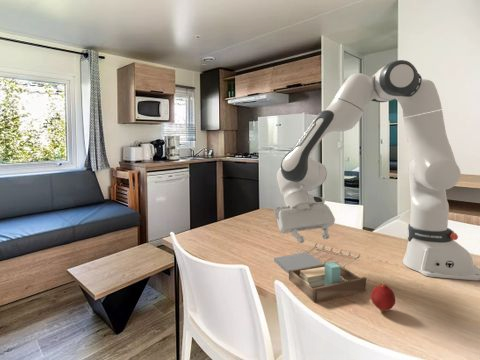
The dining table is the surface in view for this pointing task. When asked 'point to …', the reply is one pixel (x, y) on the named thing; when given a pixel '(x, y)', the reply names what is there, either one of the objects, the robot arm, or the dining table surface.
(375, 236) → the dining table surface
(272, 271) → the dining table surface
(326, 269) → the teal rectangular block
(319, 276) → the offcut stack
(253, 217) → the dining table surface
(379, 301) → the onion
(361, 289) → the wooden tray
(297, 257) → the tile
